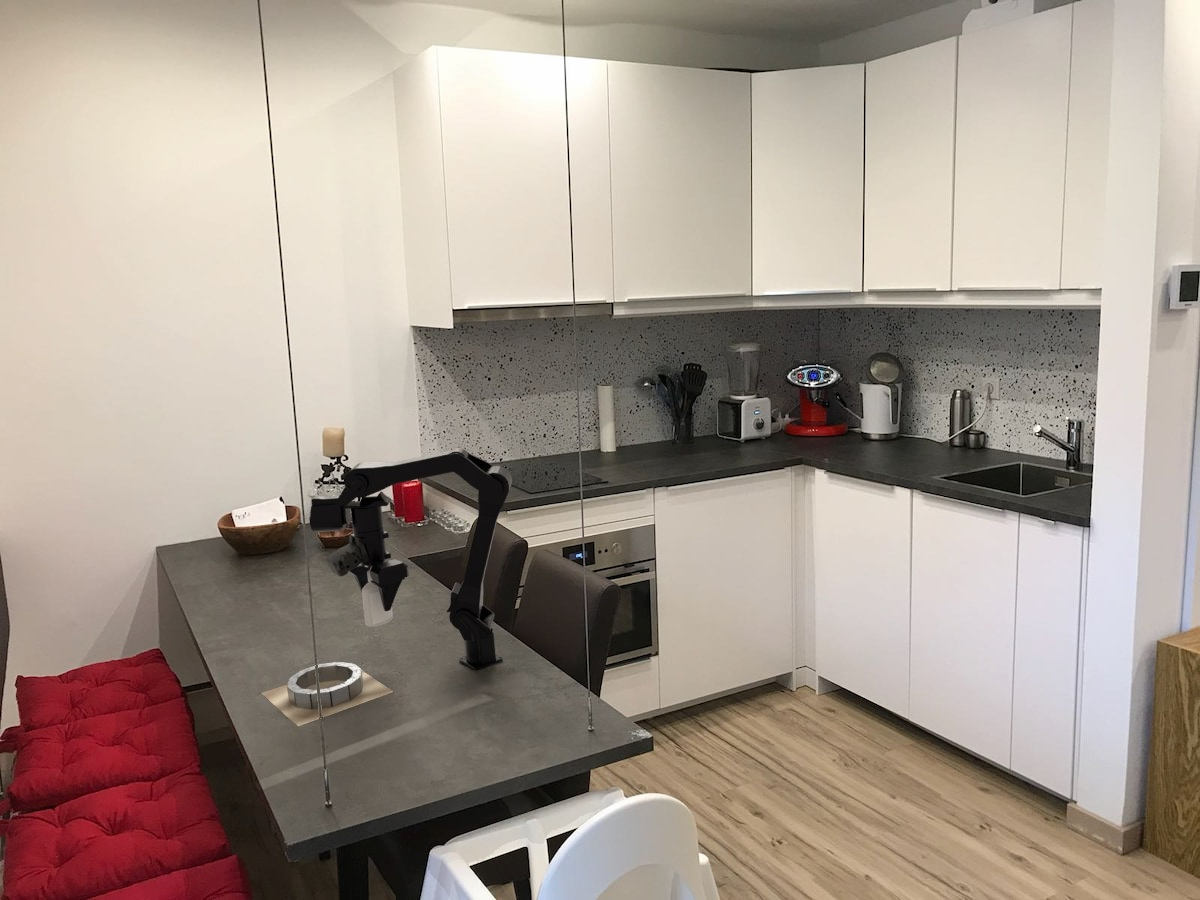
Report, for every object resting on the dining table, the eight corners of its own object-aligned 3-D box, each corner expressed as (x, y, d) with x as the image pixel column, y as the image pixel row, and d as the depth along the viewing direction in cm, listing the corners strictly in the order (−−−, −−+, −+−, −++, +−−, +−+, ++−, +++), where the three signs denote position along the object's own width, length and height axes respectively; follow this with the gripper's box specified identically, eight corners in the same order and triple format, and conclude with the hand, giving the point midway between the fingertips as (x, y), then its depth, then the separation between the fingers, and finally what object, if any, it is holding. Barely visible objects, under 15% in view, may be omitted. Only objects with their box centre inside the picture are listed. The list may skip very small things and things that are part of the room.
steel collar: (374, 691, 173) (372, 676, 172) (306, 716, 165) (304, 700, 164) (344, 670, 183) (343, 656, 182) (279, 693, 175) (277, 678, 174)
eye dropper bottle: (396, 622, 184) (389, 564, 181) (367, 629, 181) (360, 569, 179) (391, 615, 188) (384, 558, 185) (362, 621, 185) (355, 563, 183)
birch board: (394, 697, 173) (393, 691, 172) (299, 732, 162) (298, 726, 161) (352, 668, 186) (351, 663, 186) (261, 699, 175) (260, 693, 175)
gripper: (309, 529, 183) (318, 605, 186) (349, 548, 169) (359, 629, 172) (362, 516, 190) (370, 590, 193) (405, 533, 175) (414, 612, 178)
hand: (377, 605), depth 184 cm, fingers closed on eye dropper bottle, 8 cm apart
